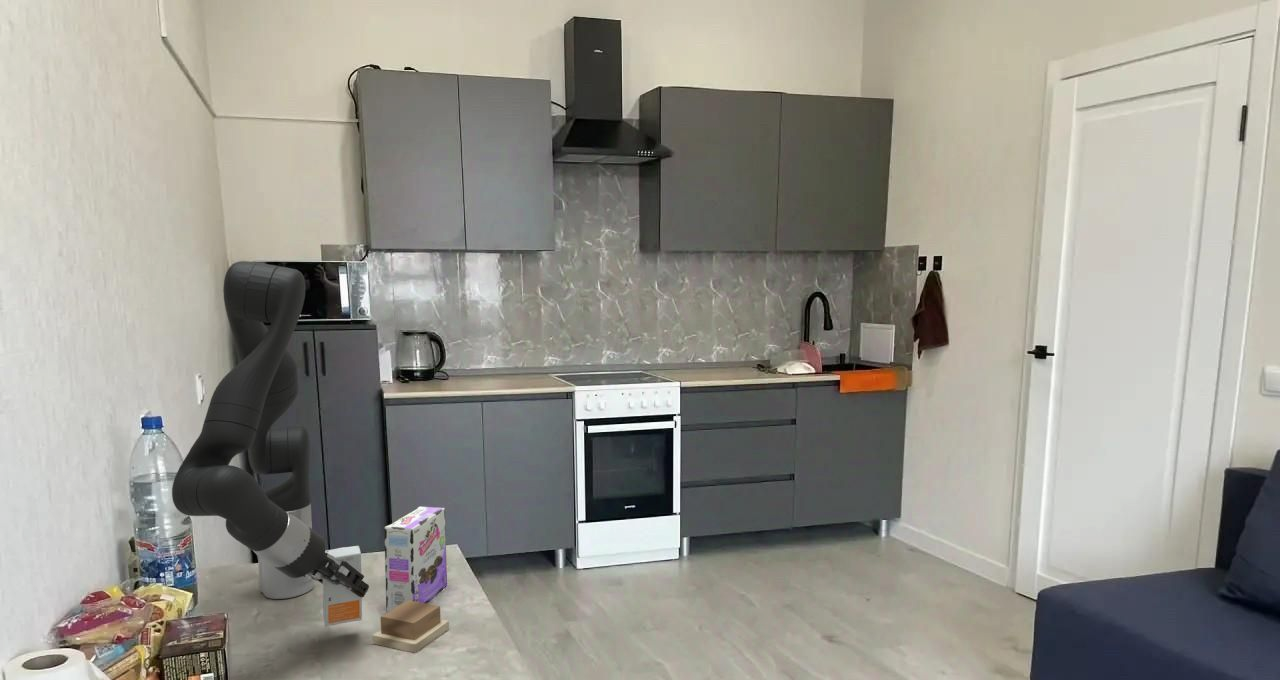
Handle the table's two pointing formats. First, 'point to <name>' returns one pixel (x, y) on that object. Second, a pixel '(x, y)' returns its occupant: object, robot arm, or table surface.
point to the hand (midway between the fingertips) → (349, 587)
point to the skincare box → (342, 591)
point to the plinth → (408, 642)
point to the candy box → (415, 557)
